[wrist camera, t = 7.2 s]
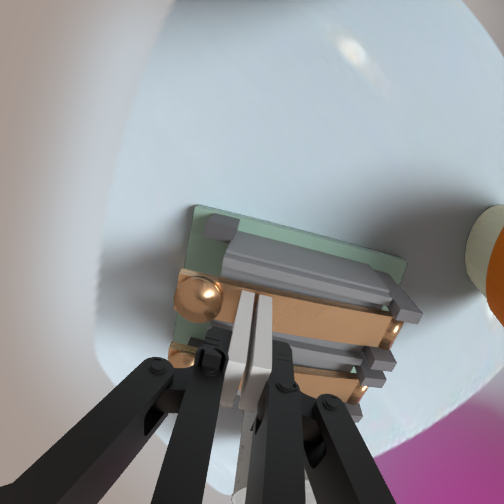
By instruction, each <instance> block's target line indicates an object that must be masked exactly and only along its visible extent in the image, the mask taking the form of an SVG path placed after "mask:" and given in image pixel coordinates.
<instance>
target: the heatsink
mask: <svg viewBox="0 0 504 504" xmlns="http://www.w3.org/2000/svg"><path fill="white" fill-rule="evenodd" d="M407 265H408V263H407V262H406V261H405V260H404V259H402V258H399V257H395V256H392V255H389V254H385V253H382V252H378V251H375V250H371V249H368V248H364V247H361V246H357V245H354V244H350V243H347V242H343V241H340V240H336V239H332V238H329V237H325V236H321V235H318V234H314V233H310V232H307V231H303V230H299V229H295V228H291V227H288V226H284V225H280V224H276V223H272V222H268V221H264V220H260V219H256V218H252V217H248V216H244V215H240V214H236V213H232V212H228V211H224V210H220V209H216V208H212V207H207V206H203V205H197V206H196V207H195V209H194V214H193V219H192V225H191V230H190V235H189V241H188V246H187V252H186V258H185V264H184V269H188V270H192V271H197V272H201V273H205V274H209V275H214V276H218V277H223V278H227V279H232V280H236V281H240V282H245V283H250V284H254V285H259V286H263V287H268V288H273V289H277V290H282V291H287V292H292V293H297V294H301V295H306V296H311V297H316V298H321V299H326V300H331V301H336V302H342V303H347V304H352V305H357V306H363V307H368V308H373V309H379V310H384V311H388V310H389V311H390V312H391V314H392V315H393V317H394V318H395V320H398V321H403V322H409V323H414V324H418V322H419V320H420V318H421V316H422V314H423V313H422V312H421V311H420V310H419V309H418V307H417V306H416V305H415V304H414V303H413V301H412V300H411V299H410V298H409V297H408V296H407V294H406V293H405V292H404V291H403V290H402V289H401V287H400V286H399V285H400V282H401V280H402V277H403V275H404V272H405V270H406V267H407ZM213 326H215V327H219V328H223V329H227V330H231V331H232V327H233V323H229V322H224V321H219V320H215V319H213V320H211V321H209V322H206V323H195V322H191V321H189V320H187V319H185V318H184V317H182V316H181V315H180V314H179V313H178V311H177V316H176V323H175V330H174V338H173V342H177V343H181V344H185V345H189V346H193V347H197V348H199V347H201V346H202V345H203V342H204V339H205V336H206V333H207V331H208V330H209V329H210V328H212V327H213ZM272 340H277V341H281V342H286V343H288V344H289V346H290V347H291V349H292V355H293V356H292V357H293V366H299V367H307V368H314V369H322V370H331V371H340V372H350V373H357V376H358V379H359V382H360V385H361V386H367V387H377V388H382V387H383V385H384V383H385V382H386V377H385V375H384V373H383V371H390V372H392V370H393V369H394V367H395V365H396V363H397V362H396V360H395V359H394V357H393V355H392V353H391V351H390V349H389V350H384V349H381V348H379V347H371V346H363V345H355V344H348V343H341V342H334V341H327V340H321V339H314V338H308V337H302V336H296V335H290V334H285V333H279V332H274V331H272ZM240 393H241V390H238V391H237V394H236V395H239V396H240ZM344 404H345V406H346V408H347V409H348V411H349V413H350V415H351V417H352V419H353V421H354V422H359V421H360V420H361V418H362V417H363V415H362V412H361V408H360V404H359V403H358V404H356V405H352V404H349V403H347V402H344Z"/></svg>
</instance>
